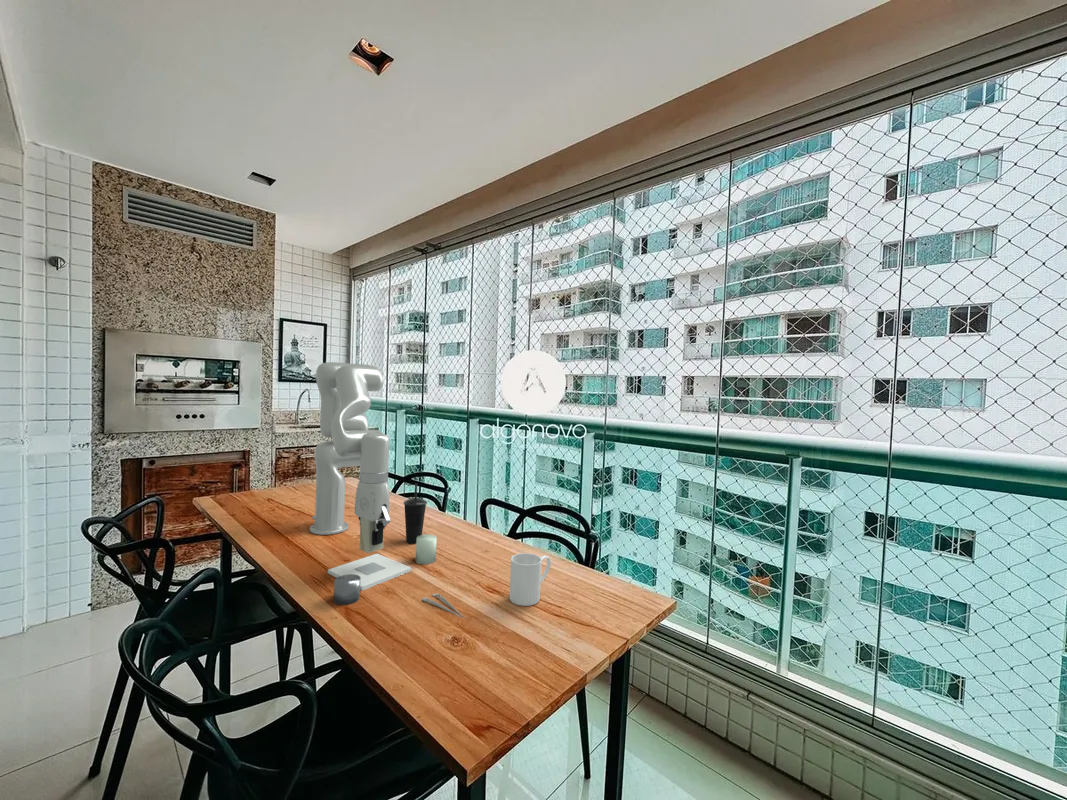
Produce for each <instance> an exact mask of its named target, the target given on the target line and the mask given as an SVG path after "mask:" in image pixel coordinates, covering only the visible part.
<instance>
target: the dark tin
mask: <svg viewBox="0 0 1067 800" xmlns="http://www.w3.org/2000/svg"><path fill="white" fill-rule="evenodd" d="M360 580H361V578H360V576H358V575H354V574H347V575H342V576H339V577H337V578H336V577H335V579H334V582H333V603H334V604H335V605H338V606H349V605H353V604H355V603H357V602H358V601H359V600H360V599H361V590H360Z"/></svg>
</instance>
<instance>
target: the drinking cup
mask: <svg viewBox="0 0 1067 800" xmlns="http://www.w3.org/2000/svg"><path fill="white" fill-rule="evenodd" d="M417 496H418V483H416V482H415V483H414V497H412V498H409V499H406V500H404V502H403V505H404V519H405V520H404V521H405V522H404V523H405V524H404V525H405V538H406V539H405V543H407V544H409V545H416V541H417V537H418V536H420V535H423V529H424V524H425V523H424V521H425V515H426V514H425V513H426V506H427V504H428V502H427V500H425V499H423V498H421V497H417Z"/></svg>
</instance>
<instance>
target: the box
mask: <svg viewBox="0 0 1067 800" xmlns="http://www.w3.org/2000/svg"><path fill="white" fill-rule="evenodd" d="M377 523H378V524H379V523H380V521H378V522H377ZM372 531H374V525H373V521H369V520H368V519H364V518H361V517H360V520H359V550H360V551H362V552H364V553H367V554H370V553H374V552H377V551H380V550H383V549H384V542H385V541H384V535H385V534H384V533H385V529H383V542H382V543H381V544H377V545H372Z"/></svg>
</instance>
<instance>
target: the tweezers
mask: <svg viewBox="0 0 1067 800" xmlns="http://www.w3.org/2000/svg"><path fill="white" fill-rule="evenodd" d="M431 596H432V597H435V596H436V598H437V599H438V600H440V601H441V602H442V603H443V604H445V605H446V606H448V607H449V606H450V607H449V608H451V609H452V610H453V611H452V610H451V609H449V608H448V607H446V606H444V605H442V604H441V603H438V602H437V601H435V600H433V599H430V598H427V596H424V597H423V598H422V599H421V601H423V602H425V603H428V604H430V603H431V605H433V606H435V607H437V606H438V608H440V609H442V610H444V611H446V612H448V611H449V613H451V614H453V615H455V616H457V617H458V618H460V619H462V618H464V619H466V617H465V616H464V615H463V614H461V613H462V612H461V613H460V611H459V610H457V608H455V607H454V606H453V605H452V603H450V602H449V601H448V600H447V599H446V598H445V596H443V595H441V594H440V593H439V592H437V593H433V594H431Z"/></svg>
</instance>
